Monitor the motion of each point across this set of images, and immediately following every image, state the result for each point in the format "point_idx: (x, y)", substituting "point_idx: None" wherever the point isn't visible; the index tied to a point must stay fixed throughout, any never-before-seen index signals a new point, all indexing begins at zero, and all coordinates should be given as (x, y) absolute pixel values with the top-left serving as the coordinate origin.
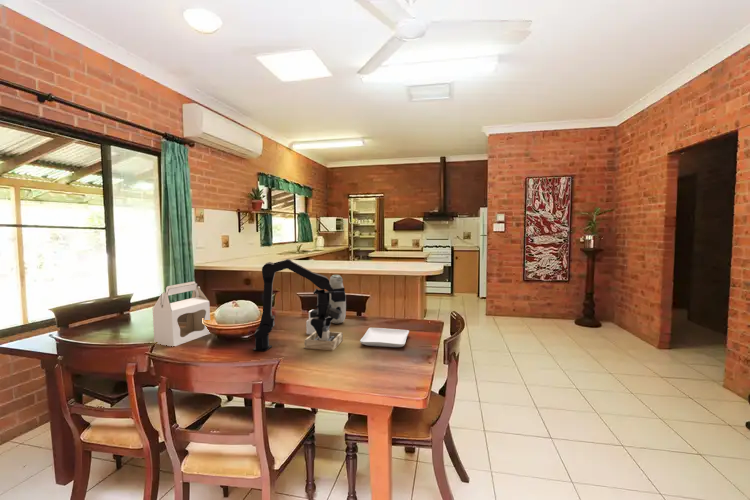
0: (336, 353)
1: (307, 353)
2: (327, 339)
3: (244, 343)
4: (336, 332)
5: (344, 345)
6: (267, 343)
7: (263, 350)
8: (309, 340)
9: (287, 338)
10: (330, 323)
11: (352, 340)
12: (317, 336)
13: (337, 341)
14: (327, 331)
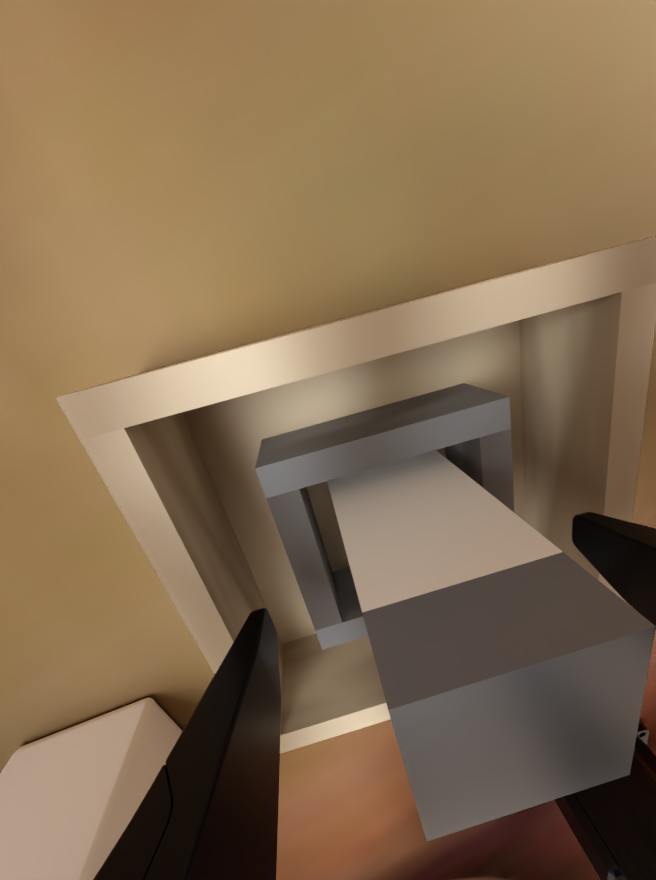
0: (630, 157)
1: (652, 476)
2: (418, 475)
3: (532, 853)
4: (146, 502)
5: (314, 216)
6: (642, 788)
7: (647, 733)
8: (622, 599)
9: (374, 787)
10: (142, 823)
11: (36, 207)
12: (279, 661)
13: (392, 306)
14: (484, 561)
